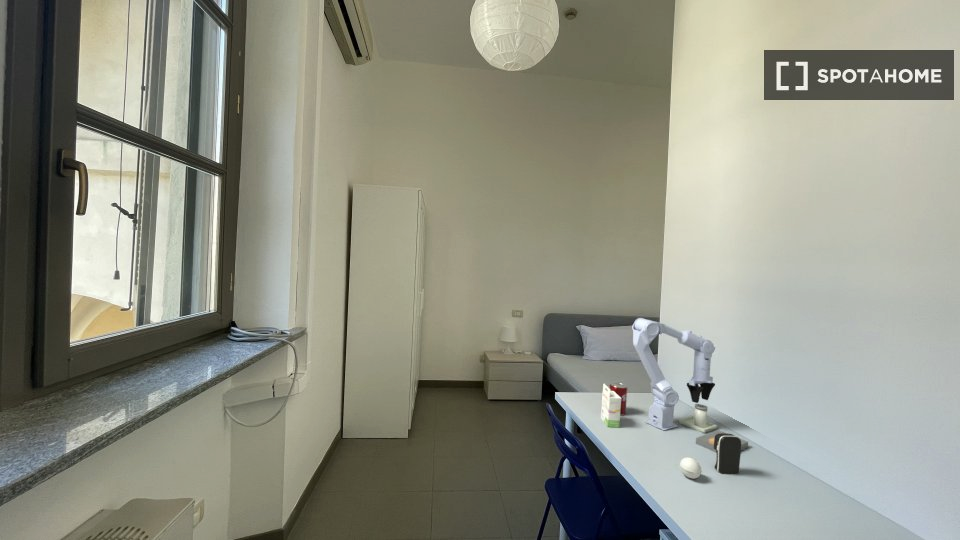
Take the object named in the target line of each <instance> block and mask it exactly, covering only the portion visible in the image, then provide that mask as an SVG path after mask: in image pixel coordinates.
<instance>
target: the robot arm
mask: <svg viewBox="0 0 960 540" xmlns="http://www.w3.org/2000/svg"><path fill="white" fill-rule="evenodd" d="M631 329H632V331H633V332H632V344H633V347H634V349H635V351H636V353H637V355H638V358H639V360H640V361H641V363H642V365H643V367H644V369H645V371H646V373H647V376H648V378H649V379H650V383H649V385H650V387H651V394H652V395H653V399H654V401H653V404H651V405H650V406H649V408H648V418H647V419H648V420H646V421H645V423H646V424H648V425H651V426H653V427H656V428H658V429H660V430H662V431H668V430H670V429H671V430H672V429H674V428H676V427H678V424H676V423H674V415H675V412H674V411H675V406H676V404H677V403H678V402H679V399H680V398H679V394H678V392H677V391H676V390H675V389H674V388H673V387H672V385H671V384H670V383H669V382H668V381H667V379H666V378H665V375H664V373H663V372H662V369H661V367H660V365H659V363H658V362H657V359H656V357H655V355H654V354H653V351H652V349H651V347H650V344H651V343H652V341H654V339H655V338H657V336H658V335H662V334H665V335H667V336H670V337H672V338H675V339H677V341H678V343H679V344H681V345H683V346H685V347H688V348H690V349H693V351H694V353H693V354H694V358H693V372H692V373H693V374H692V375H693V376H692V377H691V378H690V379H689V380H688V382H686V387H687V388H688V391H689V394H690V398H691V402H693V403H695V404H699V401H700V397H701V399H702V400H705V401H709V399H710V395H711V393H712V391H713V389H714V388H715V386H716V383H715V382H713V379H714V377H713V376H711V363H712V362H711V361H712V357H713V353H714V352H715V350H716V347H715V345H714V343H713V342H712V340H709V339H706V338H704V337H703V336H702V335H697V334H696V333H695V334H694V333H693V331H692V330H689V329H688V330H687V329H686V330H681V331H679V330H677V329H676V328H673V327H672V326H669V325H667V324H665V323H661V322H660V321H659V322H658V321H654V320H650V319H646V318H643V317H637V319H635V321H634V322H633V324H632V326H631Z"/></svg>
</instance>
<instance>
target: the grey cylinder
mask: <svg viewBox="0 0 960 540" xmlns="http://www.w3.org/2000/svg"><path fill="white" fill-rule="evenodd" d="M708 409H709V408H708V406H707V405H705V404H701V403H695V404H694V417H695V418H694V425H695V426H698V427H701V428H705V427H706V421H707V411H708Z"/></svg>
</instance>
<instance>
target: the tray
mask: <svg viewBox="0 0 960 540" xmlns="http://www.w3.org/2000/svg"><path fill="white" fill-rule="evenodd" d="M694 418H695V415H690V416H686V417H682V418H679V419H678V424H680V425H682V426H685V427H687V428H690V429H692V430H694V431H697V432H700V433H701V434H703V435H706V434H708V433H711V432H714V431H717V430H718V424H715V423H712V422H710V421H707V420H706V427H705V428H701V427H698V426H695V425H694Z"/></svg>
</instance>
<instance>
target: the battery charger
mask: <svg viewBox="0 0 960 540" xmlns="http://www.w3.org/2000/svg"><path fill="white" fill-rule="evenodd" d="M739 438H740V437H738V436H736V435H735V434H732V433H727V432H725V433H719V434H716V435H715V438H714V449H715V450H716V452H715V453H716V462H715V464H714V469H715V470H716V471H717V472H719V473H721V474H739V473H740V462H741V454H742V453H741V452H742V450H741V440H740V439H741V438H740V439H739Z"/></svg>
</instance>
